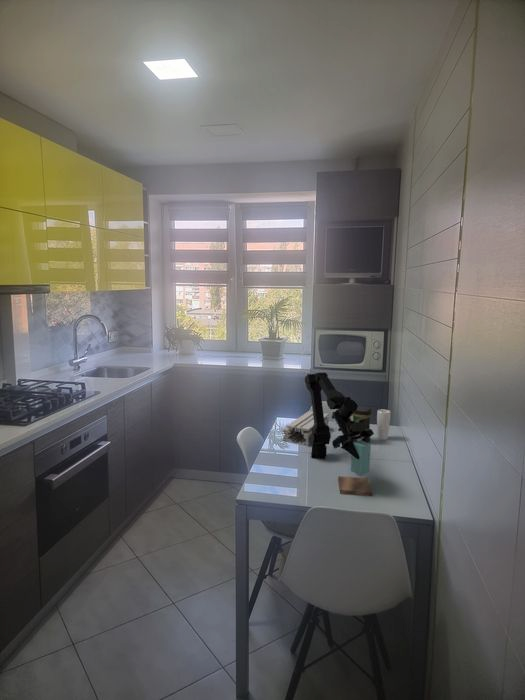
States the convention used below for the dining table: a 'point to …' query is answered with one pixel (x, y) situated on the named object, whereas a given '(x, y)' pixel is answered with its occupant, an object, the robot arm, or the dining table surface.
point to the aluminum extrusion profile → (301, 429)
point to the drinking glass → (383, 423)
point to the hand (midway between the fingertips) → (363, 457)
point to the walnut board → (354, 486)
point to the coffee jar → (362, 417)
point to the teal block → (361, 458)
